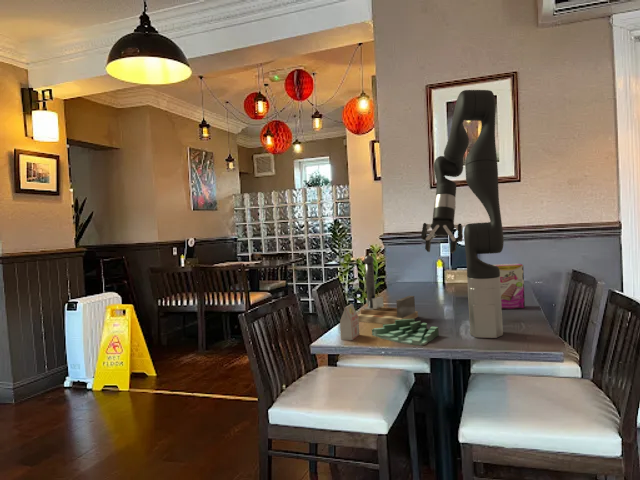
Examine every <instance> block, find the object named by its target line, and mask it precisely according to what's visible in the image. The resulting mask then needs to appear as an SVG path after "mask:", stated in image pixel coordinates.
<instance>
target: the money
mask: <svg viewBox="0 0 640 480" xmlns="http://www.w3.org/2000/svg"><path fill="white" fill-rule="evenodd" d="M415 320H416V318H415V319H402V320H395V324H382V327H376V328H375V327H374V328H371V335H372V336H374V337H375V338H380V339H383V340H385V341H386V340H387V341H389V342H393V343H400V344H404V345H409V346H411V345H412V346H422V347H423V346H425V345H427V344H428V343H429V342H432V341H433V340H434V339H435V338H437V337H439V329H440V328H439V326H430V328H428V323H427V322H422V323H421V320H418V321H415Z"/></svg>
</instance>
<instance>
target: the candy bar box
mask: <svg viewBox="0 0 640 480" xmlns="http://www.w3.org/2000/svg"><path fill="white" fill-rule="evenodd" d="M494 265H495V266H497V267H498V268H499V270H500V287H501V306H502V310H505V309H507V310H508V309H509V310H510V309H525V308H526V307H525V306H526V303H525V302H526V301H525V275H524V274H525V273H524V271H525V270H524V264H522V263H502V264H501V263H500V264H499V263H497V264H494Z"/></svg>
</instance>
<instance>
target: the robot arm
mask: <svg viewBox="0 0 640 480" xmlns="http://www.w3.org/2000/svg"><path fill="white" fill-rule="evenodd" d="M495 98H496V97H495V95H494V92H493V91H492V90H489V89H464V90H462V91H461V92H459V94H458V96H457V98H456V101H455V106H454V111H453V116H452V121H451V127H450V132H449V136H448V141H447V142H446V145H445V148H444V151H443V155H440V156H437V158H436V159H435V160H434V161H433V162H434V163H433V168H434V169H433V170H434V171H433V172H434V174H435V180H436V188H435V189H436V192H435V197H434V198H435V199H434V203H433V213H432V222H431V223H427V222H424V223H423V224H422V230H421V234H420V236H421V237H420V238H421V240H423V241H425V246H424V250H425V251H426V252H427V253H430V252H431V246H432V245H431V244H432V241H433V239H434V238H436V237H449V238H450V239H451V244H450V253H451V254H454V253H455V252H456V251H457V244H458V243H459V242H463V241H464V249H465V250H464V251H465V257H466V258H465V259H466V260H465V261H466V281H467V298H468V300H467V301H468V316H469V317H468V318H469V321H468V322H469V334H470V335H471V336H473V337H474V338H480V339H481V338H488V339H497V338H499V337H502V336H503V335H504V330H503V329H504V328H503V313H502V312H503V311H502V310H503V309H502V306H501V287H500V270H499V268H498V267H497V266H495V265H496V264H490V263H487V262H485V261H483V260H481V259H480V258H479V257H478V255H486V254H488V255H490V254H500V253H501V252H502V251H503V248H504V243H505V242H504V231H503V222H502V214H501V206H500V195H499V194H500V193H499V171H498V170H499V167H498V157H497V148H496V147H497V146H496V99H495ZM464 121H472V122H473V121H477V122H478V121H479V122H480V123H481V124H480V125H481V127H480V128H481V129H480V133H479V135H478V137H477V139H476V140H475V142H474V144H473V146H472V147H471V148H470V150H469V152H468V154H467V155H466V158H465V161H464V156H465V154H466V151H467V150H468V148H469V143H470V138H469V135H468V132H467V131H466V129H465V127H464ZM464 165H465V167H464ZM464 168H465V182H466V184H467V186H468V188H469V189H470V190H471V192H472V193H473V195H474V196H475V197H476V198H477V199H478V200H479V202H480V203H481V204H482V206H483V207H484V209H485V211H486V213H487V215H488V217H489V221H488V222H474V223H467V224H466V225H465V226H463V225H462V223H458V224H455V213H456V196H457V183H456V182H455V181H453V180H450V179H448V178H446V177H453V178H457V177H460V176H461V175H462V174H463V171H464ZM430 228H431V231H430V232H429V234H428V231H429V230H430ZM454 230H456V231H457V237H455V236H454V235H453V233H452V232H453V231H454Z"/></svg>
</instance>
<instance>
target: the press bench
mask: <svg viewBox="0 0 640 480" xmlns="http://www.w3.org/2000/svg"><path fill="white" fill-rule="evenodd" d="M395 302H396V307H386V306H383V307H380V311H375V310H364V309H360V313H358V314H357V315H358V319H359V323H360V322H362V323H373V324H381V325H387V324H395V320H402V319H415V320H416V318H419V314H418V313H419V311H416V305H415V304H416V303H415V295H407V296H404V297H402V298H399V299H397V300H395Z"/></svg>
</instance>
